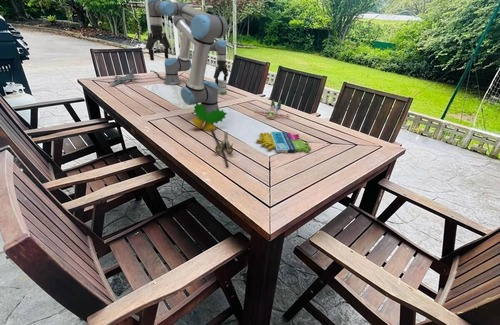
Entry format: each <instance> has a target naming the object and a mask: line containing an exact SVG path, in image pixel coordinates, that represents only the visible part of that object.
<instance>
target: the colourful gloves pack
mask: <svg viewBox="0 0 500 325" xmlns="http://www.w3.org/2000/svg"><path fill="white" fill-rule="evenodd" d="M299 136H300V135H299V134H298V133H296V134H294V133H291V132H287V131H270V132H264V133H263V132H260V133H259V139H258V138H257V139H256V143H257V144H261V148H263V147H264V148H265V149H267V151H268V152H271V151H272V150H273V149H275V152H276V153H283V154H285V153H287V154H288V153H290V154H293V153H296V152H298V153H301V152H305V153H310V151H311V150H312V149H311V148H312V146H309V142H304V141H303V139H302V138H299Z"/></svg>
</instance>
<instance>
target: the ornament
mask: <svg viewBox="0 0 500 325" xmlns="http://www.w3.org/2000/svg"><path fill="white" fill-rule="evenodd" d="M219 110H220V108H219V109H217V110H216V111H214V110H212V112H211V113H208V112H206V109H204V106H201V103H197V102H196V104H195V105H193V112H194V113H195V118H192V119H191V122H192V123H193V125H195V127H197V128H198V129H202V130H203V131H206V132H212V129H213V131H215V130H216V126H215V124H218V123H219V122H223V119H226V115H227V114H228V113H227V112H224V110H223V109H221V110H220V111H219ZM207 113H208V115H207ZM214 123H215V124H214Z"/></svg>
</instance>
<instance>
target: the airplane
mask: <svg viewBox="0 0 500 325" xmlns="http://www.w3.org/2000/svg"><path fill="white" fill-rule="evenodd" d="M111 77H114V81H113V82H111V83H110V84H109V87H114V86H117V85H119V84H123V83H124V84H127V83H129V82H135V81H137V80H142V79H143V78H142V77H140V75H138V74H134V67H132V68H131V70H130V72H129V73H125V75H124V76H123V75H113V74H112V75H111ZM139 77H140V78H139Z"/></svg>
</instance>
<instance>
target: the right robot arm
mask: <svg viewBox="0 0 500 325" xmlns="http://www.w3.org/2000/svg"><path fill="white" fill-rule="evenodd" d="M147 9H148V16H149V24H150V25H149V26H150V32H148V33H147V40H146V43H145V49H146V50H148V56H149V60H150V61H152V62H153V61H155V55H154V50H153V48H154V46H155V44H156V43H157V42H158V41H159V42H160V43H161V45H162V46H163V47H164V48H163V51H164V59H169V58H170V57H169V49H170V48H171V44H170V42H169V40H168V37H167V33H166V32H164V30H163V28H164V27H163V19H162V18H163V17H162V16H168V17H170V16H171V17H174V16H181V17H183V18H186V19H188V20H190V21H191V25H190V30H191V34H192V36H193V39H194V41H195V45H194V48H193V54H192V60H191V64H192V65H191V68H190V70H189V71H190V72H189V77H188V78H189V79H187V81H186V82H185V86H183V87H181V89H180V96H181V99H182V101H183V103H185V104H186V105H188V106H195V105H196V102H197V103H198V104H201V106H204V109H206V112H208V113H211V112H212V110H214V111H216V110H217V109H219V111H221V110H220V108H219V102H218V99H219V98H218V97H219V94H218V85H217V84H216V83H215V81H210V80H204V78H205V74H206V70H207V64H208V60H209V55H210V51H209V50H210V46H212V45H213V44H214V42H215V39H221V38H224V37H225V36H226V35H227V33H228V29H229V25H228V21H227V20H226V18H224V17H223V16H221V15H217V14H210V13H207V12H205V11H202V10H200V9H197V8H195V7H193V6H190V5H189V4H188V3H186V2H174V1H169V0H147ZM208 113H207V115H208ZM214 131H215V130H213V129H212V131H211V133H212V135H213V138H214V139H215V142H217V144H218V145H220V144H221V142H220V141H219V139H218V138H217V136H216V134H215V132H214ZM221 153H222V155H223V159H224V162H225V166H226V168H229V163H228V159H227V156H226V154H225V151H224V149H223V150H222V151H221Z"/></svg>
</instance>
